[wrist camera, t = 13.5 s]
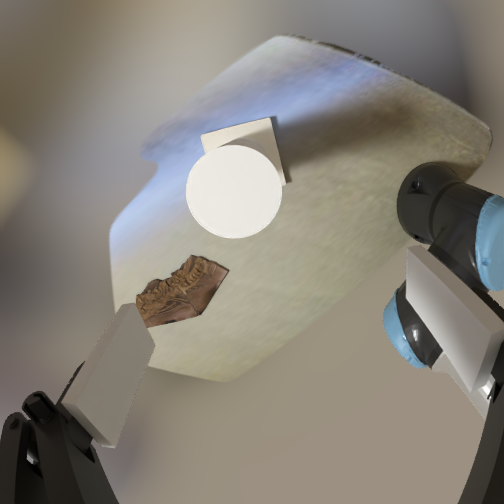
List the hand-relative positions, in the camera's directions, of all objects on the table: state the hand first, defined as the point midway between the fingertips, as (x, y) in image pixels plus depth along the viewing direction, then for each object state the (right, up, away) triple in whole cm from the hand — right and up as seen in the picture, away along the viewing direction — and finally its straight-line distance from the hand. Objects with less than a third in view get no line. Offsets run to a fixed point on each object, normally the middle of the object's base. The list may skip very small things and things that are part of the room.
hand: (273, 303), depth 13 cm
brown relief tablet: (-16, -7, +43) cm, 47 cm away
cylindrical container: (-2, +17, +32) cm, 36 cm away
